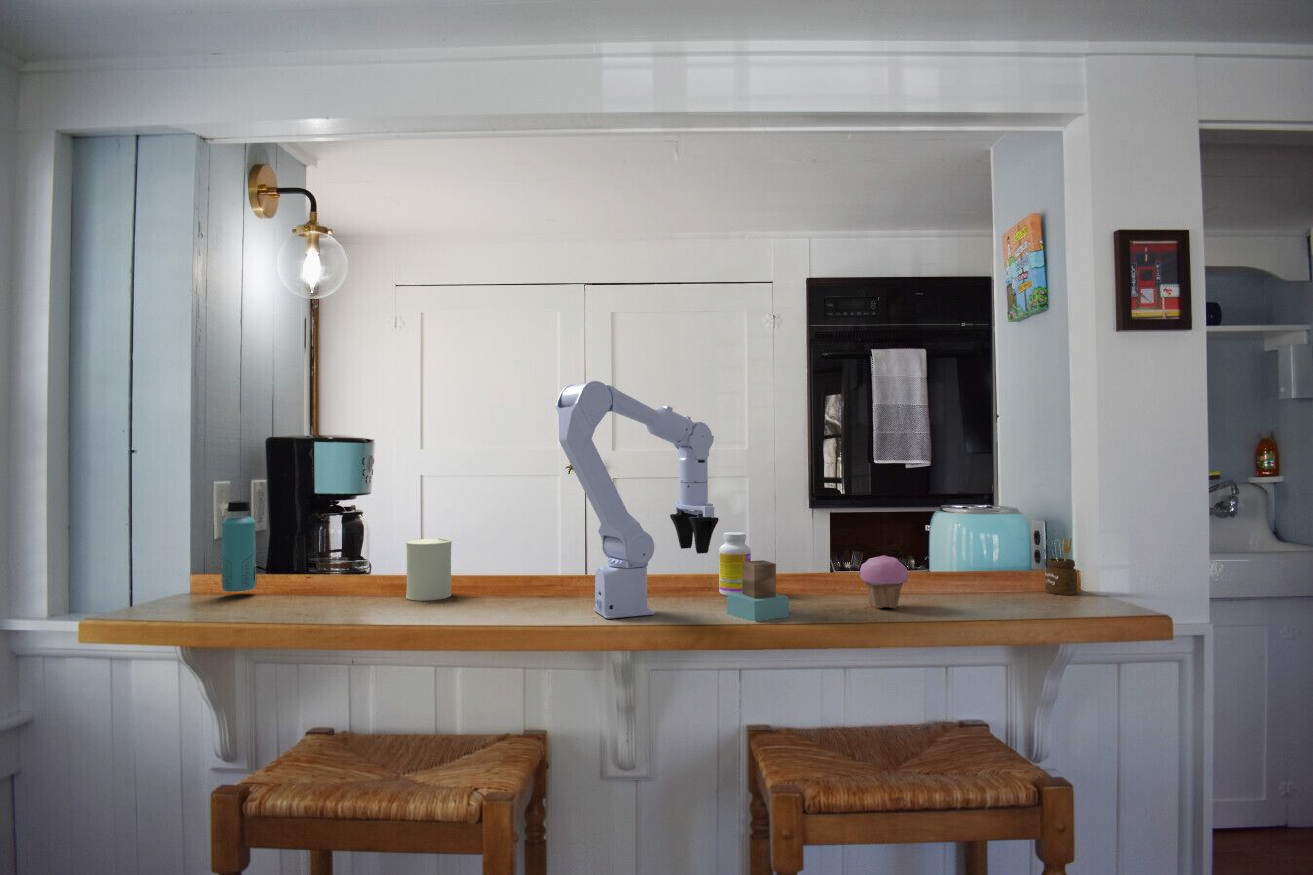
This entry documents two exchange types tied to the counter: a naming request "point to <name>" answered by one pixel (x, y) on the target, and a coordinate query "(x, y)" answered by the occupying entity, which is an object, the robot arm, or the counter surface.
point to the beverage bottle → (238, 550)
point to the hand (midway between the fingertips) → (693, 550)
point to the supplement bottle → (732, 562)
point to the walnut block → (759, 579)
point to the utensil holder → (1061, 573)
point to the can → (428, 569)
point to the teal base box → (757, 606)
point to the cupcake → (883, 580)
